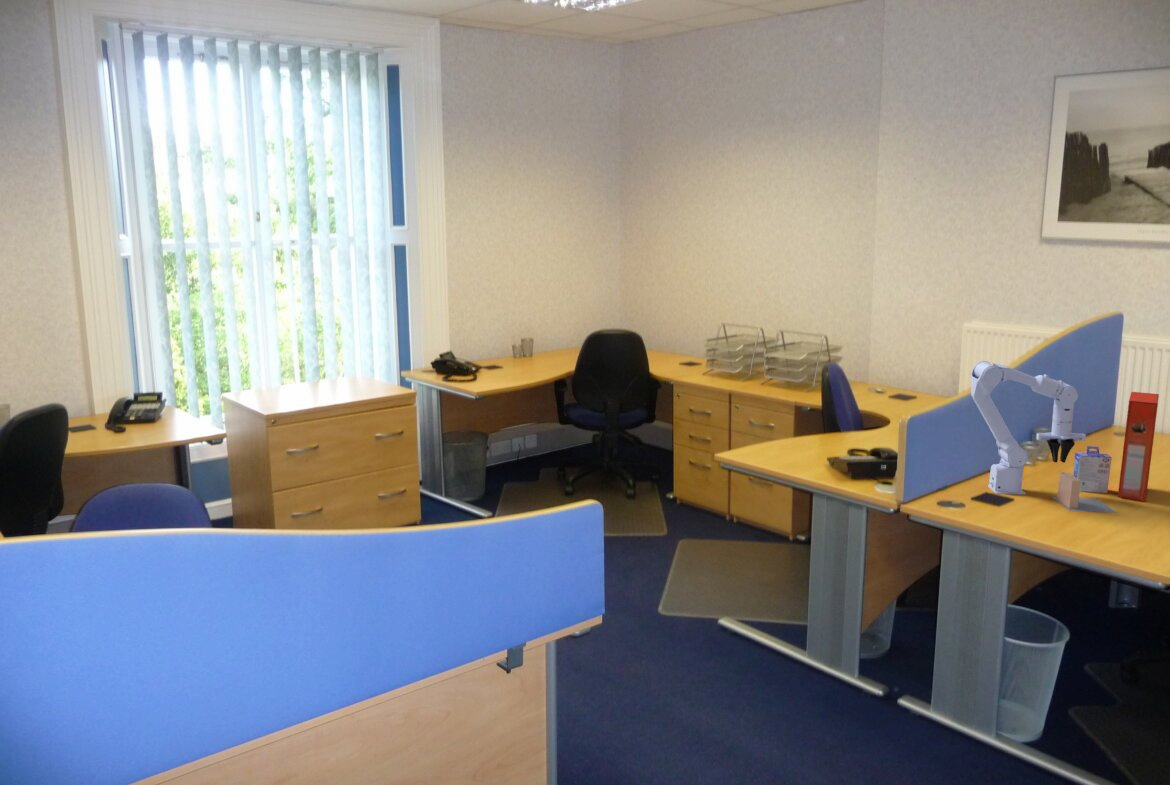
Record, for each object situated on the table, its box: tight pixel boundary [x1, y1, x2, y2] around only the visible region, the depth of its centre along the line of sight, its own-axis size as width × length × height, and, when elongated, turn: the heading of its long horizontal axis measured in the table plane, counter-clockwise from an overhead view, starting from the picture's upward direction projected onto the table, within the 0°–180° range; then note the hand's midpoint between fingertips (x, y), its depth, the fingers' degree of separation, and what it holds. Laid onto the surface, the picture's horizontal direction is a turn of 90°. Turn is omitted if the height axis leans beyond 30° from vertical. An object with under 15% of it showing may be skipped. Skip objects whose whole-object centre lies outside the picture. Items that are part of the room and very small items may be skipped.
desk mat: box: [1051, 496, 1118, 514], centre depth 290 cm, size 14×14×1 cm
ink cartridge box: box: [1072, 445, 1112, 494], centre depth 304 cm, size 10×6×14 cm, turn 78°
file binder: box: [1117, 391, 1160, 503], centre depth 299 cm, size 8×17×32 cm, turn 148°
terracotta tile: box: [1056, 471, 1081, 509], centre depth 289 cm, size 2×9×9 cm, turn 175°
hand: (1058, 461), depth 300 cm, fingers closed
